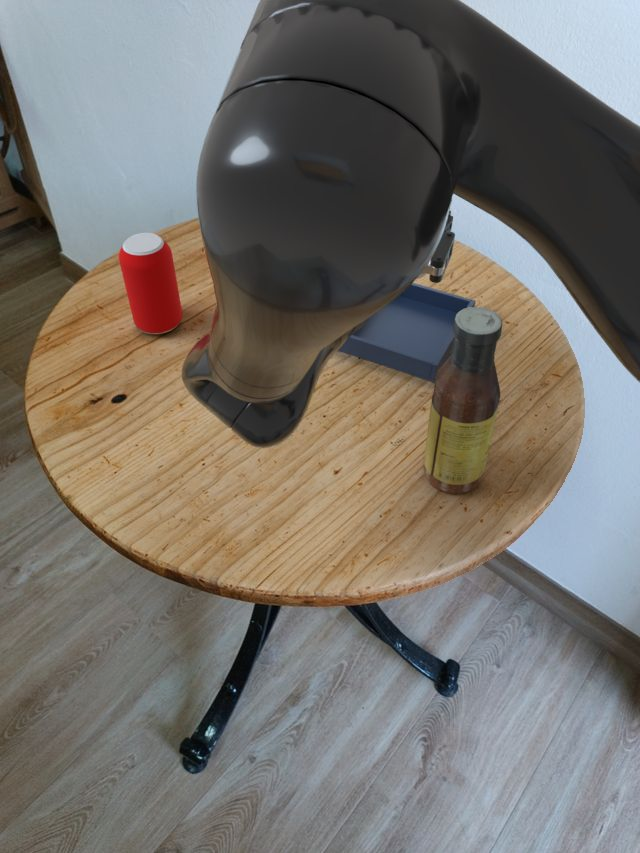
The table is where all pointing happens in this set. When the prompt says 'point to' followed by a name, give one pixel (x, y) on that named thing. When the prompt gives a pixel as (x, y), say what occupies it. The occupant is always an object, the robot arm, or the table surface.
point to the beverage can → (150, 283)
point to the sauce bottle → (464, 404)
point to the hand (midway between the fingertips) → (421, 210)
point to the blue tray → (410, 332)
